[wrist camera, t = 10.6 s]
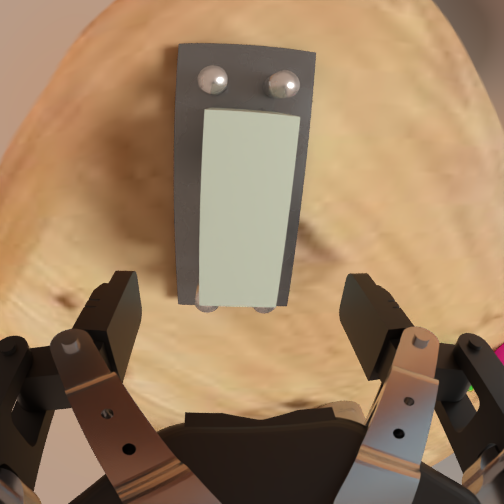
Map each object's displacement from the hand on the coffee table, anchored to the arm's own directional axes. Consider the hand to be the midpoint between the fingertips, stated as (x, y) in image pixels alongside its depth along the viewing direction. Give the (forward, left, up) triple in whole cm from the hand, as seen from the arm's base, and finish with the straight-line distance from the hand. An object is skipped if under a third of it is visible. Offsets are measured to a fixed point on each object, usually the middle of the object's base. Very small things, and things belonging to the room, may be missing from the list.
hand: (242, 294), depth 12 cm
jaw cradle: (0, 0, -15) cm, 15 cm away
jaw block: (0, 0, -14) cm, 14 cm away
